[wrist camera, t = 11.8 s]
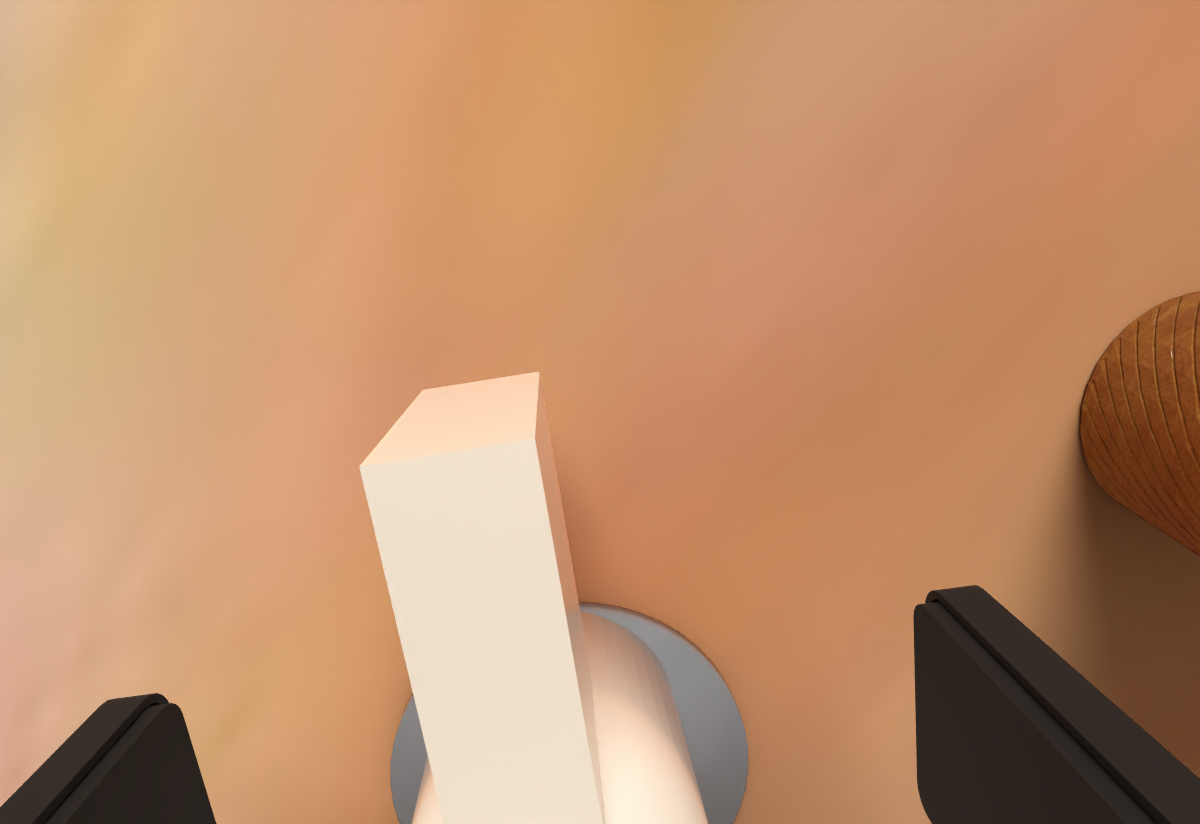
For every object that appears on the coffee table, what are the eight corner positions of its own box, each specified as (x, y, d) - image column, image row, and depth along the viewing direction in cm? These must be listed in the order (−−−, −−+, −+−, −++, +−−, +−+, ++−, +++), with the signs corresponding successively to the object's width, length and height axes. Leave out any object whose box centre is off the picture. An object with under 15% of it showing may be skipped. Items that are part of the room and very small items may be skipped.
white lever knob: (686, 794, 21) (785, 1189, 12) (463, 833, 21) (402, 1265, 12) (622, 338, 18) (692, 433, 9) (359, 379, 18) (174, 517, 9)
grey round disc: (728, 577, 20) (733, 587, 20) (755, 875, 23) (761, 892, 22) (362, 631, 20) (357, 643, 19) (429, 928, 22) (426, 946, 22)
